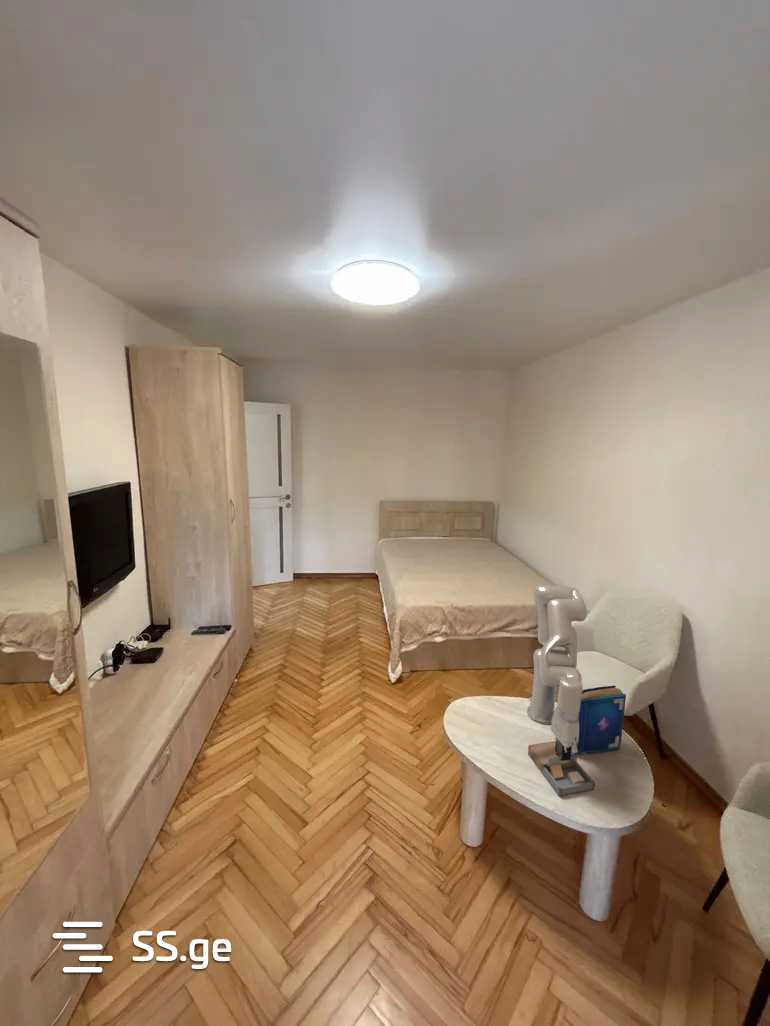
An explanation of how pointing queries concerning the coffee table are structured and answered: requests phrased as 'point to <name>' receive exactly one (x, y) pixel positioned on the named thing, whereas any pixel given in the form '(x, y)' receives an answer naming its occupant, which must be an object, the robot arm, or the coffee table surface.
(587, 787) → the box
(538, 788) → the coffee table surface
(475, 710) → the coffee table surface
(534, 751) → the brown tray
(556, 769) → the tile terracotta
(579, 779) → the tile cream
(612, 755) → the coffee table surface
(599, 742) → the book
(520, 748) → the coffee table surface
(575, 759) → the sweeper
